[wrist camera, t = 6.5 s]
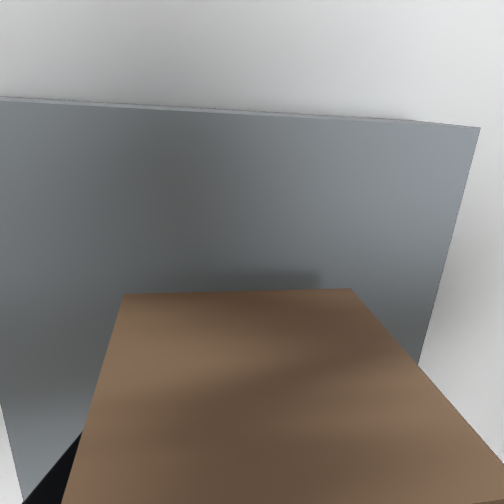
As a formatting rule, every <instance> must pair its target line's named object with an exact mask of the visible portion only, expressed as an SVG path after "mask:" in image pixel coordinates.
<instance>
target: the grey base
mask: <svg viewBox="0 0 504 504" xmlns="http://www.w3.org/2000/svg"><path fill="white" fill-rule="evenodd" d="M480 129H481V128H479V127H469V126H460V125H451V124H441V123H432V122H423V121H413V120H396V119H378V118H361V117H344V116H327V115H309V114H292V113H275V112H258V111H240V110H223V109H206V108H189V107H172V106H154V105H137V104H120V103H103V102H85V101H68V100H51V99H34V98H16V97H0V404H1V408H2V412H3V416H4V421H5V425H6V429H7V433H8V438H9V442H10V446H11V451H12V455H13V459H14V463H15V468H16V472H17V476H18V480H19V485H20V489H21V493H22V498H23V501H24V500H25V499H26V498H27V497H28V495H29V494H30V493H31V492H32V491H33V489H34V488H35V487H36V486H37V485H38V483H39V482H40V481H41V480H42V479H43V478H44V476H45V475H46V474H47V473H48V472H49V470H50V469H51V468H52V467H53V466H54V464H55V463H56V462H57V461H58V460H59V458H60V457H61V456H62V455H63V454H64V452H65V451H66V450H67V449H68V448H69V446H70V445H71V444H72V443H73V442H74V440H75V439H76V438H77V437H78V436H79V434H80V433H81V432H82V431H83V429H84V425H85V422H86V419H87V415H88V412H89V409H90V405H91V402H92V399H93V395H94V392H95V389H96V385H97V382H98V379H99V375H100V372H101V368H102V365H103V362H104V358H105V355H106V352H107V348H108V345H109V342H110V338H111V335H112V332H113V328H114V325H115V322H116V318H117V315H118V312H119V308H120V305H121V302H122V298H123V295H124V294H140V293H180V292H221V291H261V290H302V289H343V288H351V289H352V291H353V292H354V293H355V294H356V295H357V296H358V297H359V299H360V300H361V301H362V302H363V303H364V304H365V306H366V307H367V308H368V309H369V310H370V311H371V312H372V314H373V315H374V316H375V317H376V318H377V319H378V320H379V322H380V323H381V324H382V325H383V326H384V327H385V328H386V330H387V331H388V332H389V333H390V334H391V335H392V336H393V338H394V339H395V340H396V341H397V342H398V343H399V344H400V346H401V347H402V348H403V349H404V350H405V351H406V352H407V354H408V355H409V356H410V357H411V358H412V359H413V361H414V362H415V363H416V364H417V365H418V362H419V358H420V354H421V351H422V347H423V343H424V339H425V336H426V332H427V328H428V324H429V320H430V317H431V313H432V309H433V305H434V302H435V298H436V294H437V290H438V287H439V283H440V279H441V275H442V272H443V268H444V264H445V260H446V257H447V253H448V249H449V245H450V241H451V238H452V234H453V230H454V226H455V223H456V219H457V215H458V211H459V208H460V204H461V200H462V196H463V193H464V189H465V185H466V181H467V178H468V174H469V170H470V166H471V163H472V159H473V155H474V151H475V147H476V144H477V140H478V136H479V132H480Z"/></svg>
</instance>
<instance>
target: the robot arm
mask: <svg viewBox="0 0 504 504" xmlns="http://www.w3.org/2000/svg"><path fill="white" fill-rule="evenodd" d="M82 432H83V431H82ZM82 432H81V433H80V434H79V436H78V437H77V438H76V439H75V440H74V442H73V443H72V444H71V445H70V446H69V448H68V449H67V450H66V451H65V452H64V454H63V455H62V456H61V457H60V458H59V460H58V461H57V462H56V463H55V464H54V466H53V467H52V468H51V469H50V470H49V472H48V473H47V474H46V475H45V476H44V478H43V479H42V480H41V481H40V482H39V483H38V485H37V486H36V487H35V488H34V489H33V491H32V492H31V493H30V494H29V495H28V497H27V498H26V499H25V500H24V501H23V503H22V504H61V502H62V499H63V496H64V492H65V489H66V486H67V482H68V479H69V476H70V472H71V469H72V466H73V462H74V459H75V456H76V452H77V449H78V445H79V442H80V439H81V435H82Z"/></svg>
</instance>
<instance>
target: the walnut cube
mask: <svg viewBox="0 0 504 504" xmlns="http://www.w3.org/2000/svg"><path fill="white" fill-rule="evenodd" d="M61 504H504V464H503V463H502V461H501V460H500V459H499V458H498V457H497V456H496V455H495V453H494V452H493V451H492V450H491V449H490V448H489V446H488V445H487V444H486V443H485V442H484V441H483V440H482V438H481V437H480V436H479V435H478V434H477V433H476V432H475V430H474V429H473V428H472V427H471V426H470V425H469V424H468V422H467V421H466V420H465V419H464V418H463V417H462V416H461V414H460V413H459V412H458V411H457V410H456V409H455V408H454V406H453V405H452V404H451V403H450V402H449V401H448V399H447V398H446V397H445V396H444V395H443V394H442V393H441V391H440V390H439V389H438V388H437V387H436V386H435V385H434V383H433V382H432V381H431V380H430V379H429V378H428V377H427V375H426V374H425V373H424V372H423V371H422V370H421V369H420V367H419V366H418V365H417V364H416V363H415V362H414V361H413V359H412V358H411V357H410V356H409V355H408V354H407V352H406V351H405V350H404V349H403V348H402V347H401V346H400V344H399V343H398V342H397V341H396V340H395V339H394V338H393V336H392V335H391V334H390V333H389V332H388V331H387V330H386V328H385V327H384V326H383V325H382V324H381V323H380V322H379V320H378V319H377V318H376V317H375V316H374V315H373V314H372V312H371V311H370V310H369V309H368V308H367V307H366V306H365V304H364V303H363V302H362V301H361V300H360V299H359V297H358V296H357V295H356V294H355V293H354V292H353V291H352V289H351V288H343V289H302V290H261V291H221V292H180V293H140V294H124V295H123V298H122V302H121V305H120V308H119V312H118V315H117V318H116V322H115V325H114V328H113V332H112V335H111V338H110V342H109V345H108V348H107V352H106V355H105V358H104V362H103V365H102V368H101V372H100V375H99V379H98V382H97V385H96V389H95V392H94V395H93V399H92V402H91V405H90V409H89V412H88V415H87V419H86V422H85V425H84V429H83V432H82V435H81V439H80V442H79V445H78V449H77V452H76V456H75V459H74V462H73V466H72V469H71V472H70V476H69V479H68V482H67V486H66V489H65V492H64V496H63V499H62V502H61Z"/></svg>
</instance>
